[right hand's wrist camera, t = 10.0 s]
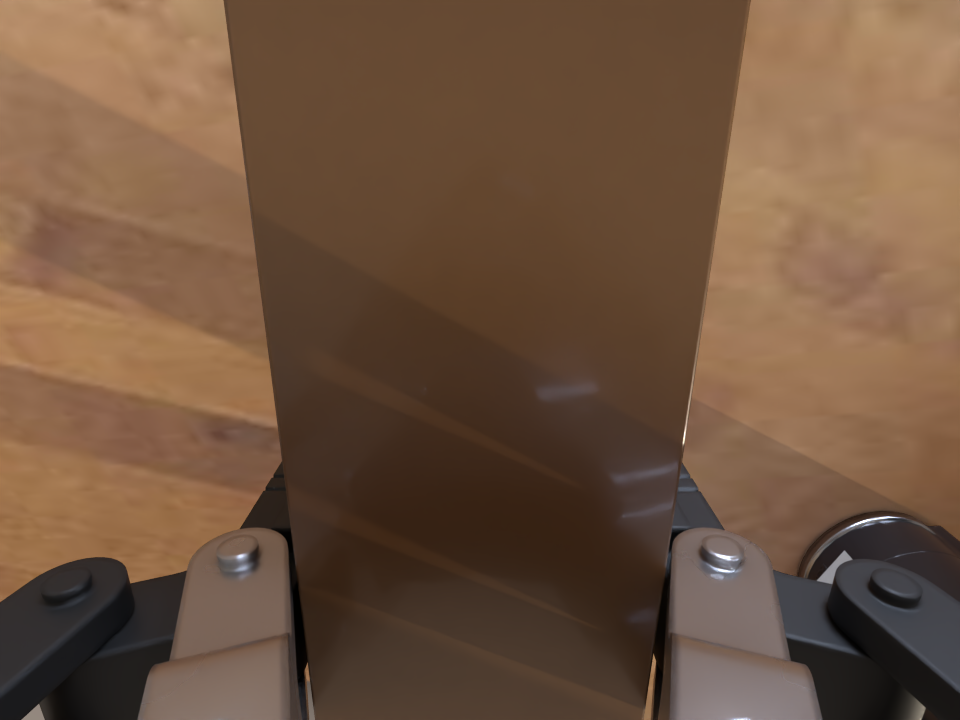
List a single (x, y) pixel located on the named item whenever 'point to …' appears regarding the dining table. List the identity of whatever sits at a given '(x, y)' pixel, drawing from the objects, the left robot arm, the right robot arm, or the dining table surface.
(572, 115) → the beam
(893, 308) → the dining table surface
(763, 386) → the dining table surface
